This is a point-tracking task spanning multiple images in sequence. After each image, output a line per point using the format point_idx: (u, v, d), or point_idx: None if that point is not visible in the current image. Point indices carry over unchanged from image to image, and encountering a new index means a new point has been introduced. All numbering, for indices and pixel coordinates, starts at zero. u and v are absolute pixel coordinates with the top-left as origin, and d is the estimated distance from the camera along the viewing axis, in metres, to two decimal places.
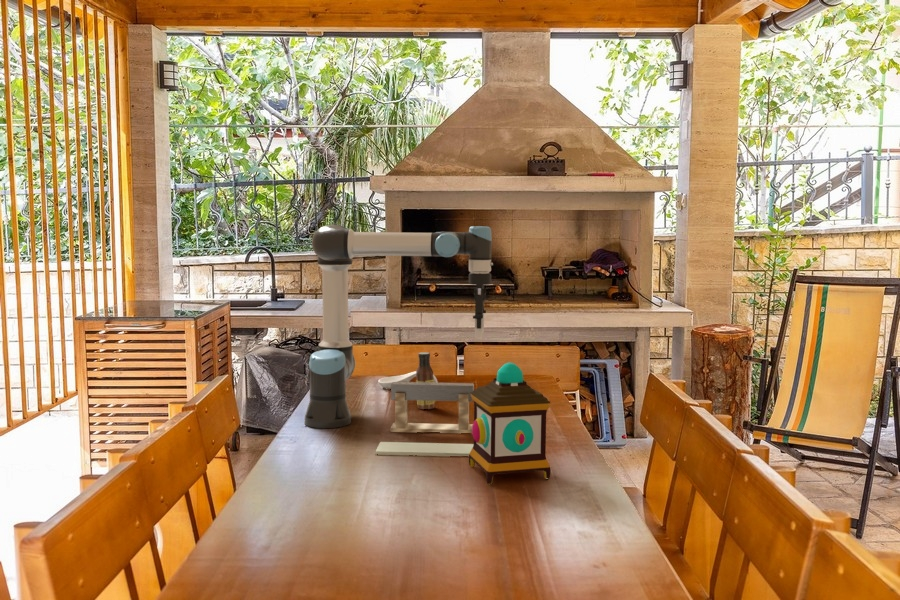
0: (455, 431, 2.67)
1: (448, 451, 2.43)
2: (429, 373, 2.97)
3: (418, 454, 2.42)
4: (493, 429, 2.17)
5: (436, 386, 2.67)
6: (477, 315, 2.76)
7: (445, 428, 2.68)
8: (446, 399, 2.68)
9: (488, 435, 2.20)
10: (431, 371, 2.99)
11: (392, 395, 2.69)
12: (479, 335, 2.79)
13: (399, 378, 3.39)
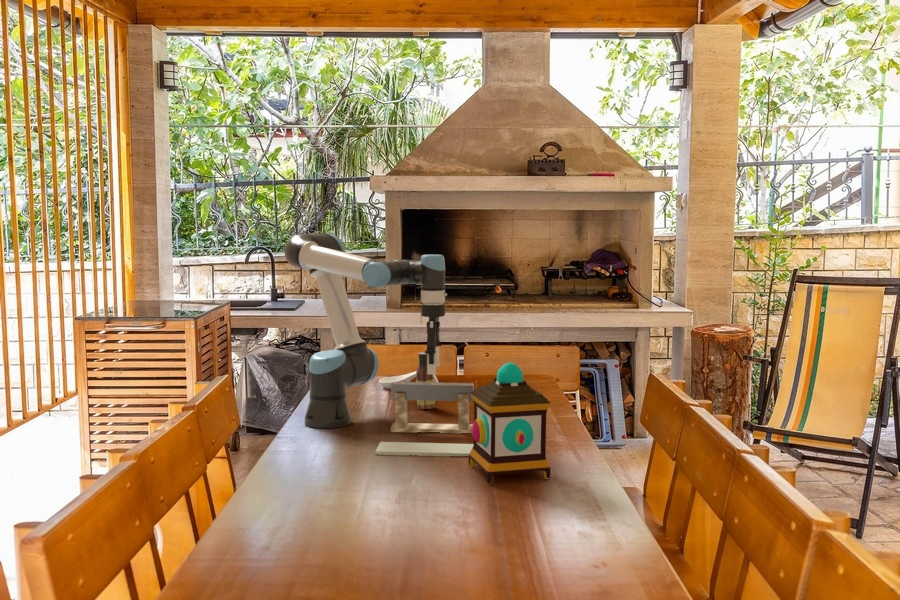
0: (455, 431, 2.67)
1: (448, 451, 2.43)
2: None
3: (418, 454, 2.42)
4: (493, 429, 2.17)
5: (436, 386, 2.67)
6: (429, 350, 2.58)
7: (445, 428, 2.68)
8: (446, 399, 2.68)
9: (488, 435, 2.20)
10: None
11: (392, 395, 2.69)
12: (432, 371, 2.62)
13: (400, 378, 3.39)
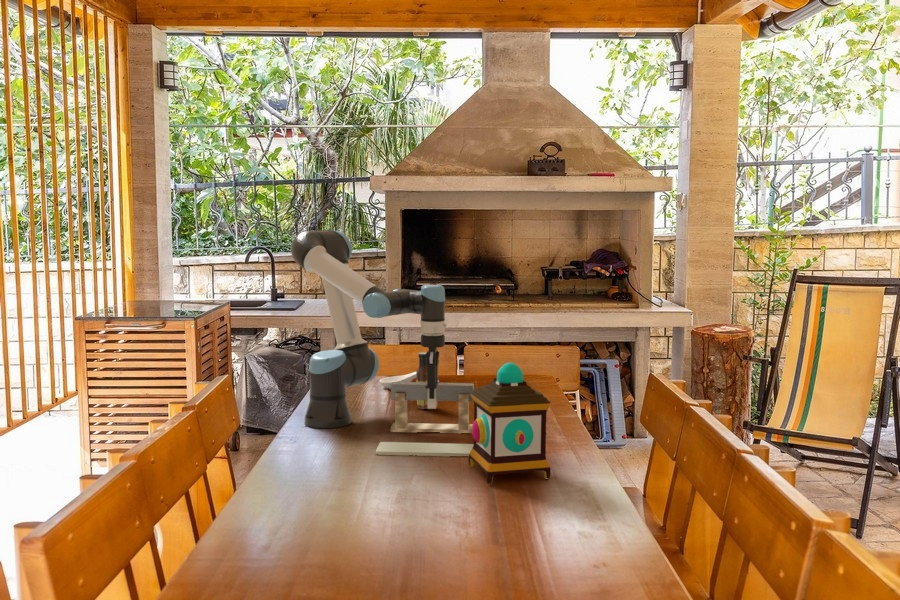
0: (455, 431, 2.67)
1: (448, 451, 2.43)
2: None
3: (418, 454, 2.42)
4: (493, 429, 2.17)
5: (436, 386, 2.67)
6: (429, 385, 2.64)
7: (445, 428, 2.68)
8: (446, 399, 2.68)
9: (488, 435, 2.20)
10: None
11: (392, 395, 2.69)
12: (432, 405, 2.67)
13: (401, 378, 3.39)
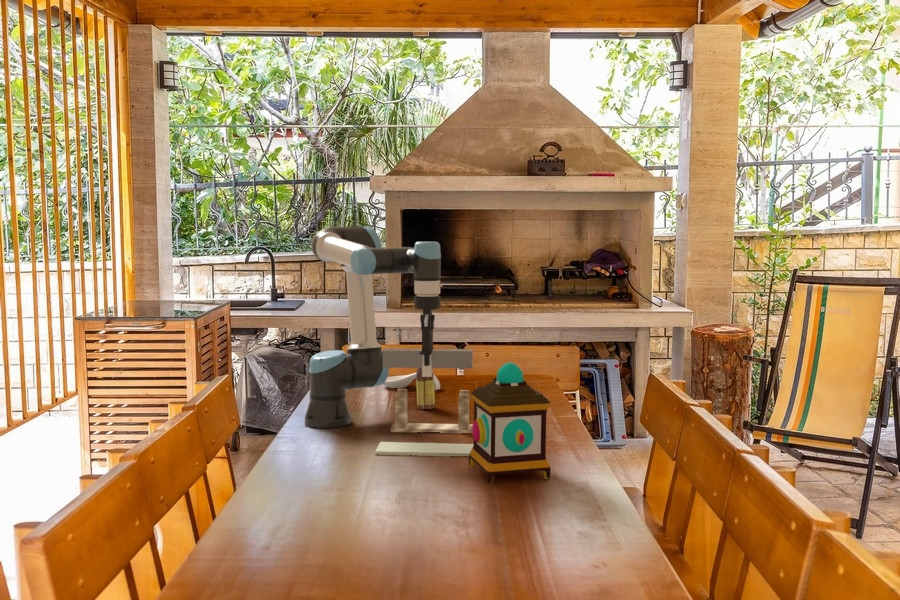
0: (455, 431, 2.67)
1: (448, 451, 2.43)
2: None
3: (418, 454, 2.42)
4: (493, 429, 2.17)
5: (432, 352, 2.45)
6: (424, 351, 2.41)
7: (445, 428, 2.68)
8: (443, 366, 2.45)
9: (488, 435, 2.20)
10: None
11: (384, 362, 2.45)
12: (427, 373, 2.44)
13: (405, 378, 3.40)
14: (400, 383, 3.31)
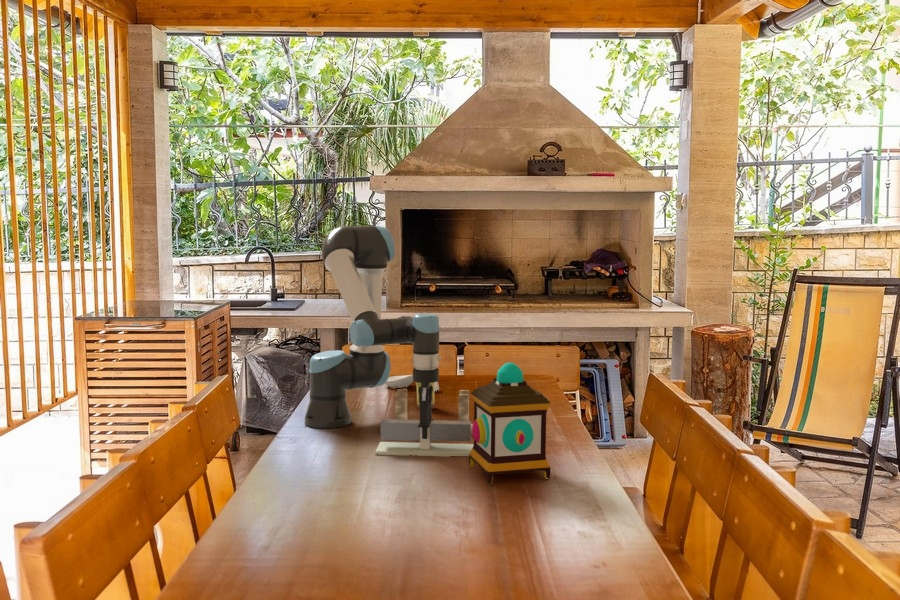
0: None
1: (448, 451, 2.43)
2: None
3: (418, 454, 2.42)
4: (493, 429, 2.17)
5: (430, 425, 2.44)
6: (422, 424, 2.41)
7: None
8: (441, 439, 2.44)
9: (488, 435, 2.20)
10: None
11: (382, 434, 2.45)
12: (425, 446, 2.44)
13: None
14: (399, 383, 3.32)
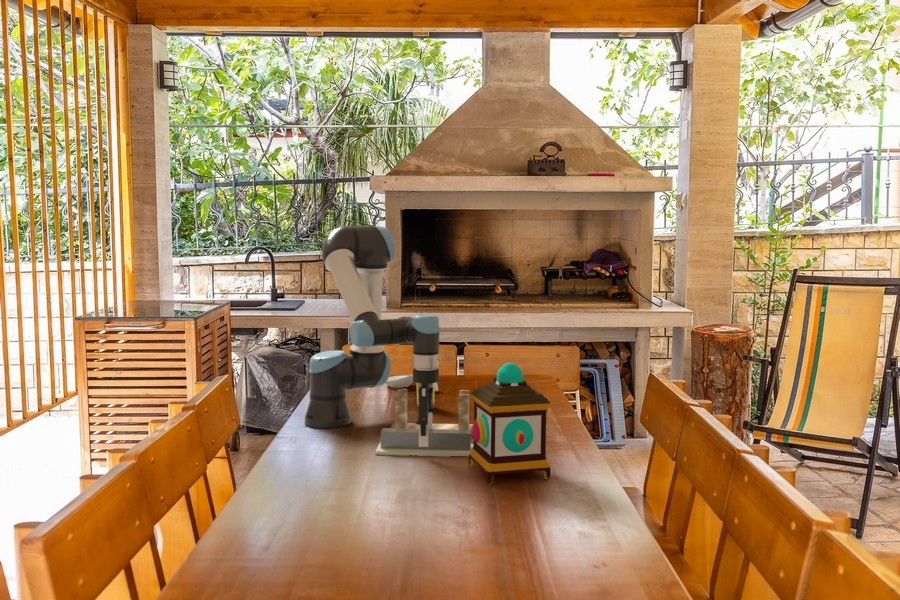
0: None
1: (448, 451, 2.43)
2: None
3: (418, 454, 2.42)
4: (493, 429, 2.17)
5: (430, 434, 2.45)
6: (420, 421, 2.36)
7: (445, 428, 2.68)
8: (441, 448, 2.45)
9: (488, 435, 2.20)
10: None
11: (382, 443, 2.46)
12: (424, 443, 2.40)
13: None
14: (398, 382, 3.32)
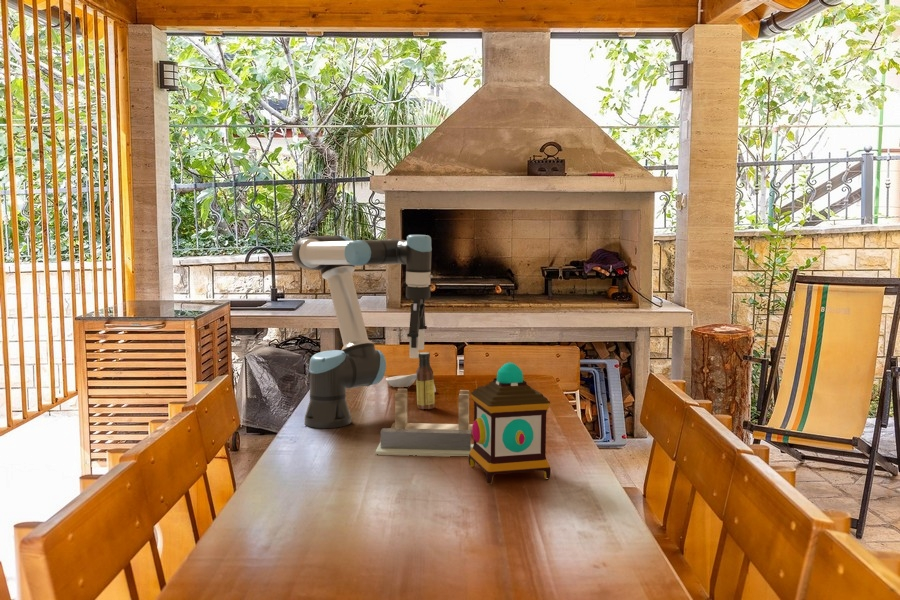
0: None
1: (448, 451, 2.43)
2: (429, 373, 2.97)
3: (418, 454, 2.42)
4: (493, 429, 2.17)
5: (430, 434, 2.45)
6: (411, 333, 2.51)
7: (445, 428, 2.68)
8: (441, 448, 2.45)
9: (488, 435, 2.20)
10: (431, 371, 2.99)
11: (382, 443, 2.46)
12: (414, 355, 2.55)
13: None
14: (398, 382, 3.33)
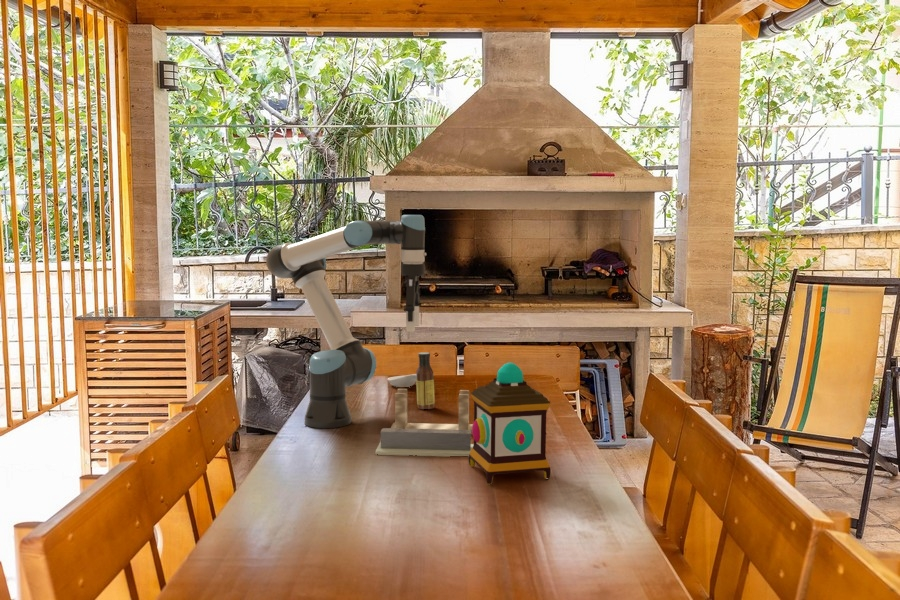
0: None
1: (448, 451, 2.43)
2: (429, 373, 2.97)
3: (418, 454, 2.42)
4: (493, 429, 2.17)
5: (430, 434, 2.45)
6: (408, 307, 2.63)
7: (445, 428, 2.68)
8: (441, 448, 2.45)
9: (488, 435, 2.20)
10: (431, 371, 2.99)
11: (382, 443, 2.46)
12: (411, 328, 2.67)
13: None
14: (397, 382, 3.33)
